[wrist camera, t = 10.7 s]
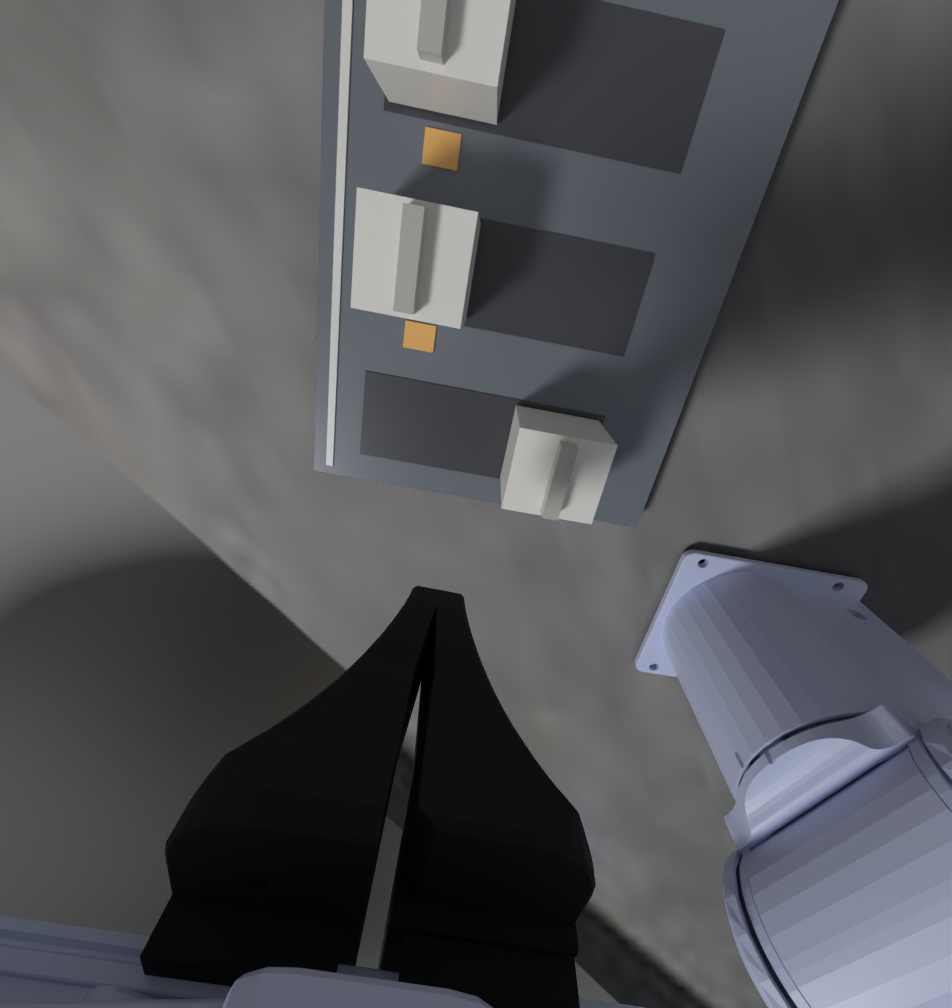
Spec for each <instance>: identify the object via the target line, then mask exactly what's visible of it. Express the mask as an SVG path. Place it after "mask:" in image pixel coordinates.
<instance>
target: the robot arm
mask: <svg viewBox="0 0 952 1008" xmlns="http://www.w3.org/2000/svg"><path fill="white" fill-rule="evenodd" d="M702 559H705V561H704V562H703V563H700V564H698V562H699V561H700V560H702ZM837 583H838V584H837ZM835 584H837V585H835ZM834 585H835V586H834ZM866 591H867V584H866V583H865V582H864V581H862V580H861V579H859V578H854V577H848V576H843V575H837V574H831V573H826V572H820V571H814V570H808V569H803V568H797V567H791V566H786V565H780V564H774V563H769V562H763V561H757V560H751V559H746V558H740V557H734V556H729V555H723V554H717V553H711V552H706V551H700V550H688V551H686V552H684V553H683V554H682V556H681V558H680V560H679V562H678V564H677V567H676V569H675V571H674V573H673V576H672V578H671V580H670V582H669V585H668V587H667V589H666V591H665V593H664V596H663V598H662V600H661V602H660V605H659V607H658V609H657V611H656V614H655V616H654V618H653V620H652V623H651V625H650V627H649V629H648V632H647V634H646V636H645V638H644V640H643V643H642V645H641V647H640V649H639V652H638V654H637V656H636V658H635V665H636V668H637V669H638V670H639V671H642V672H648V673H654V674H661V675H667V676H673V677H678V679H679V681H680V683H681V685H682V687H683V690H684V692H685V694H686V696H687V698H688V700H689V703H690V705H691V707H692V709H693V711H694V713H695V716H696V718H697V720H698V722H699V724H700V726H701V728H702V731H703V733H704V735H705V737H706V739H707V741H708V744H709V746H710V748H711V750H712V752H713V754H714V756H715V759H716V761H717V763H718V765H719V767H720V769H721V772H722V774H723V776H724V778H725V780H726V782H727V784H728V787H729V789H730V791H731V793H732V795H733V797H734V800H735V802H736V804H735V806H734V808H733V809H732V810H731V811H730V812H729V813H728V814H727V815H725V817H724V819H725V822H726V824H727V826H728V829H729V831H730V833H731V836H732V838H733V840H734V843H735V845H736V847H737V850H736V851H734V852H733V853H732V854H730V856H729V857H728V859H727V861H726V862H725V865H724V869H723V879H722V886H723V894H724V901H725V906H726V910H727V914H728V918H729V922H730V925H731V929H732V932H733V936H734V939H735V942H736V944H737V947H738V950H739V952H740V955H741V957H742V959H743V962H744V964H745V966H746V968H747V970H748V972H749V974H750V976H751V978H752V980H753V982H754V984H755V986H756V988H757V990H758V991H759V993H760V995H761V997H762V998H763V1000H764V1002H765V1003H766V1005H767V1006H768V1008H952V681H950V680H949V679H948V678H947V677H946V676H945V675H944V674H942V673H941V672H940V671H939V670H938V669H937V668H936V667H934V666H933V665H932V664H931V663H930V662H929V661H928V660H926V659H925V658H924V657H923V656H922V655H921V654H920V653H918V652H917V651H916V650H915V649H914V648H913V647H912V646H910V645H909V644H908V643H907V642H906V641H905V640H904V639H902V638H901V637H900V636H899V635H898V634H897V633H896V632H894V631H893V630H892V629H891V628H890V627H889V626H888V625H886V624H885V623H884V622H883V621H882V620H881V619H880V618H878V617H877V616H876V615H875V614H874V613H873V612H872V611H870V610H869V609H868V608H867V607H866V606H865V605H864V604H862V603H861V602H860V600H861V598H862V597H863V595H864V594H865V592H866ZM651 664H654V665H651ZM420 683H421V690H420V701H419V713H418V724H417V735H416V747H415V758H414V766H413V774H412V780H411V786H410V792H409V797H408V803H407V809H406V814H405V820H404V826H403V831H402V837H401V843H400V848H399V854H398V860H397V866H396V871H395V877H394V883H393V888H392V893H391V899H390V905H389V911H388V916H387V921H386V927H385V932H384V938H383V943H382V950H381V954H380V961H379V966H378V969H372V968H365V967H358V966H356V961H357V956H358V951H359V946H360V941H361V936H362V932H363V926H364V921H365V917H366V912H367V907H368V902H369V897H370V892H371V887H372V881H373V877H374V872H375V868H376V862H377V858H378V853H379V847H380V843H381V838H382V833H383V828H384V823H385V818H386V814H387V809H388V804H389V799H390V794H391V789H392V784H393V779H394V774H395V770H396V766H397V762H398V758H399V755H400V751H401V748H402V744H403V741H404V738H405V734H406V731H407V727H408V724H409V721H410V717H411V714H412V710H413V707H414V703H415V700H416V697H417V693H418V690H419V686H420ZM165 857H166V862H167V867H168V873H169V878H170V884H171V890H172V896H171V898H170V900H169V902H168V904H167V906H166V908H165V909H164V911H163V913H162V915H161V917H160V919H159V921H158V923H157V925H156V927H155V928H154V930H153V932H152V934H151V936H150V937H148V936H141V935H134V934H126V933H120V932H113V931H106V930H99V929H92V928H84V927H78V926H71V925H63V924H57V923H50V922H43V921H35V920H29V919H21V918H15V917H8V916H1V915H0V1008H645V1007H638V1006H631V1005H624V1004H617V1003H610V1002H603V1001H595V1000H589V999H582V998H579V996H578V987H577V979H576V971H575V961H574V957H576V955H577V954H578V940H577V931H576V921H577V919H578V918H579V916H580V914H581V913H582V911H583V909H584V908H585V906H586V905H587V903H588V901H589V900H590V898H591V896H592V894H593V891H594V888H595V885H596V884H595V878H594V868H593V862H592V858H591V853H590V849H589V846H588V842H587V839H586V835H585V832H584V829H583V825H582V822H581V819H580V816H579V813H578V811H577V810H576V809H575V808H574V807H573V806H572V804H571V803H570V802H569V801H568V800H567V799H566V797H565V796H564V795H563V794H562V793H561V792H560V790H559V789H558V788H557V787H556V786H555V785H554V783H553V782H552V781H551V780H550V779H549V777H548V776H547V775H546V773H545V772H544V771H543V769H542V768H541V767H540V765H539V764H538V762H537V761H536V760H535V758H534V757H533V756H532V754H531V753H530V751H529V749H528V748H527V746H526V745H525V743H524V742H523V740H522V739H521V737H520V736H519V734H518V733H517V731H516V730H515V728H514V727H513V725H512V723H511V722H510V720H509V718H508V716H507V715H506V713H505V711H504V709H503V708H502V706H501V704H500V702H499V700H498V698H497V696H496V694H495V692H494V690H493V688H492V686H491V684H490V681H489V679H488V677H487V675H486V672H485V670H484V667H483V665H482V663H481V660H480V657H479V655H478V652H477V649H476V646H475V643H474V640H473V637H472V634H471V630H470V627H469V623H468V619H467V615H466V610H465V603H464V597H463V596H462V595H461V594H458V593H453V592H447V591H442V590H437V589H431V588H426V587H421V586H417V587H415V588H413V590H412V592H411V594H410V596H409V597H408V599H407V601H406V602H405V604H404V606H403V607H402V608H401V610H400V611H399V613H398V614H397V616H396V617H395V618H394V619H393V621H392V622H391V623H390V624H389V626H388V627H387V628H386V630H385V631H384V632H383V633H382V634H381V636H380V637H379V638H378V639H377V640H376V641H375V642H374V643H373V644H372V645H371V647H370V648H369V649H368V650H367V651H366V652H365V653H364V654H363V655H362V656H361V657H360V658H359V659H358V660H357V661H356V662H355V663H354V664H353V665H352V666H351V667H350V668H349V669H348V670H347V671H345V672H344V673H343V674H342V675H341V676H340V677H339V678H338V679H337V680H335V681H334V682H333V683H332V684H331V685H329V686H328V687H327V688H326V689H325V690H323V691H322V692H321V693H320V694H318V695H317V696H316V697H315V698H313V699H312V700H310V701H309V702H308V703H306V704H305V705H304V706H302V707H301V708H299V709H298V710H297V711H295V712H293V713H292V714H291V715H289V716H288V717H286V718H285V719H283V720H282V721H281V722H279V723H278V724H276V725H274V726H273V727H272V728H270V729H268V730H267V731H265V732H263V733H261V734H260V735H258V736H256V737H255V738H253V739H251V740H249V741H248V742H246V743H244V744H243V745H241V746H239V747H237V748H236V749H234V750H232V751H230V752H229V753H227V754H226V755H225V756H224V757H223V758H222V759H221V760H220V761H219V763H218V764H217V765H216V766H215V768H214V769H213V770H212V771H211V773H210V774H209V775H208V776H207V778H206V779H205V781H204V782H203V783H202V784H201V786H200V787H199V789H198V790H197V791H196V793H195V794H194V795H193V797H192V799H191V800H190V802H189V803H188V805H187V807H186V808H185V810H184V812H183V813H182V815H181V817H180V819H179V820H178V822H177V824H176V826H175V827H174V829H173V831H172V833H171V834H170V836H169V838H168V840H167V841H166V848H165Z"/></svg>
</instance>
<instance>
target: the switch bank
mask: <svg viewBox="0 0 952 1008" xmlns="http://www.w3.org/2000/svg"><path fill="white" fill-rule="evenodd" d="M838 1H839V0H516V5H515V11H514V17H513V24H512V30H511V36H510V43H509V49H508V56H507V62H506V68H505V75H504V81H503V87H502V94H501V100H500V107H499V113H498V119H497V125H495V124H490V123H486V122H481V121H476V120H472V119H467V118H462V117H458V116H453V115H448V114H444V113H439V112H435V111H430V110H425V109H421V108H416V107H411V106H407V105H402V104H397V103H393V102H389V101H388V99H387V97H386V95H385V94H384V92H383V90H382V89H381V87H380V85H379V83H378V82H377V80H376V78H375V77H374V75H373V73H372V72H371V70H370V68H369V66H368V65H367V63H366V61H365V60H364V40H365V21H366V2H367V0H325V10H324V54H323V98H322V142H321V186H320V230H319V273H318V317H317V361H316V405H315V449H314V470H315V471H320V472H326V473H332V474H337V475H343V476H349V477H354V478H360V479H366V480H371V481H377V482H383V483H388V484H394V485H400V486H405V487H411V488H417V489H422V490H428V491H434V492H439V493H445V494H451V495H456V496H462V497H468V498H473V499H479V500H485V501H490V502H496V503H501V480H500V475H501V471H502V466H503V462H504V457H505V453H506V448H507V443H508V439H509V434H510V430H511V425H512V421H513V416H514V411H515V407H516V405H518V406H523V407H529V408H534V409H539V410H545V411H550V412H555V413H561V414H566V415H571V416H577V417H582V418H587V419H593V420H598V421H599V422H600V423H601V424H602V426H603V427H604V428H605V430H606V431H607V432H608V434H609V435H610V436H611V438H612V439H613V440H614V442H615V443H616V444H617V449H616V452H615V455H614V458H613V461H612V464H611V467H610V470H609V473H608V476H607V479H606V482H605V485H604V488H603V491H602V494H601V497H600V500H599V503H598V506H597V509H596V512H595V515H594V518H593V520H598V521H604V522H609V523H615V524H621V525H626V526H632V527H637V526H638V523H639V520H640V518H641V515H642V513H643V510H644V507H645V505H646V502H647V500H648V497H649V494H650V492H651V489H652V487H653V484H654V481H655V479H656V476H657V473H658V471H659V468H660V466H661V463H662V460H663V458H664V455H665V453H666V450H667V447H668V445H669V442H670V440H671V437H672V434H673V432H674V429H675V427H676V424H677V421H678V419H679V416H680V413H681V411H682V408H683V406H684V403H685V400H686V398H687V395H688V393H689V390H690V387H691V385H692V382H693V380H694V377H695V374H696V372H697V369H698V366H699V364H700V361H701V359H702V356H703V353H704V351H705V348H706V346H707V343H708V340H709V338H710V335H711V333H712V330H713V327H714V325H715V322H716V319H717V317H718V314H719V312H720V309H721V306H722V304H723V301H724V299H725V296H726V293H727V291H728V288H729V286H730V283H731V280H732V278H733V275H734V273H735V270H736V267H737V265H738V262H739V259H740V257H741V254H742V252H743V249H744V246H745V244H746V241H747V239H748V236H749V233H750V231H751V228H752V226H753V223H754V220H755V218H756V215H757V212H758V210H759V207H760V205H761V202H762V199H763V197H764V194H765V192H766V189H767V186H768V184H769V181H770V179H771V176H772V173H773V171H774V168H775V166H776V163H777V160H778V158H779V155H780V152H781V150H782V147H783V145H784V142H785V139H786V137H787V134H788V132H789V129H790V126H791V124H792V121H793V119H794V116H795V113H796V111H797V108H798V105H799V103H800V100H801V98H802V95H803V92H804V90H805V87H806V85H807V82H808V79H809V77H810V74H811V72H812V69H813V66H814V64H815V61H816V59H817V56H818V53H819V51H820V48H821V45H822V43H823V40H824V38H825V35H826V32H827V30H828V27H829V25H830V22H831V19H832V17H833V14H834V12H835V9H836V6H837V4H838ZM357 187H359V188H364V189H369V190H373V191H378V192H383V193H388V194H393V195H398V196H403V197H407V198H412V199H417V200H422V201H427V202H432V203H437V204H441V205H446V206H451V207H456V208H461V209H466V210H471V211H475V212H478V214H479V218H480V222H481V227H480V234H479V240H478V247H477V253H476V259H475V266H474V272H473V278H472V285H471V291H470V298H469V304H468V310H467V317H466V321H465V323H464V324H463V326H462V327H461V329H458V328H453V327H448V326H442V325H437V324H432V323H427V322H422V321H417V320H411V319H406V318H401V317H396V316H391V315H386V314H380V313H375V312H370V311H365V310H360V309H355V308H351V289H352V270H353V251H354V232H355V212H356V193H357Z"/></svg>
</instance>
